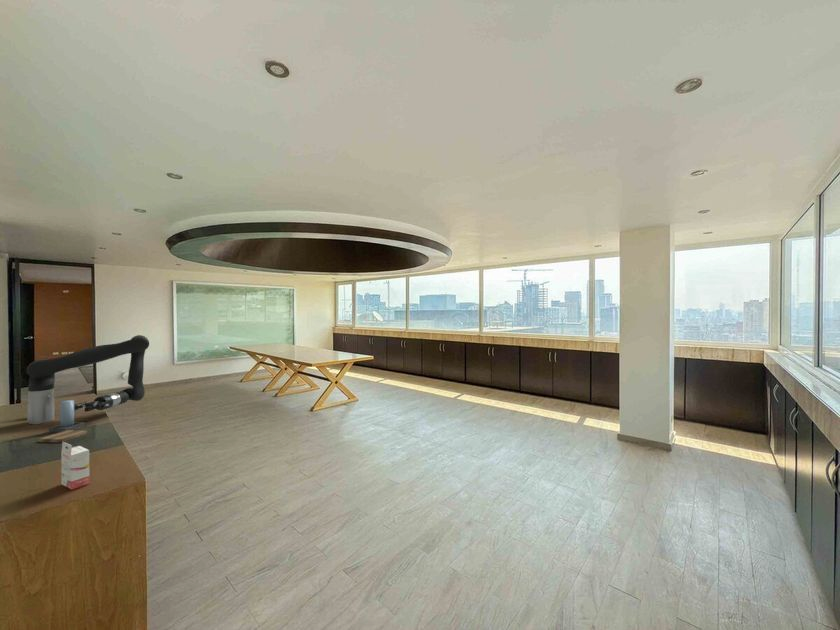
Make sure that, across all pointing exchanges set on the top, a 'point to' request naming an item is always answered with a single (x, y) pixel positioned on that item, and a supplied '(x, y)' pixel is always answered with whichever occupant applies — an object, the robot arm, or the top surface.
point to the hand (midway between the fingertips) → (77, 409)
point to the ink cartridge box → (74, 466)
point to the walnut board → (62, 436)
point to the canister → (66, 413)
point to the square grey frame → (76, 425)
